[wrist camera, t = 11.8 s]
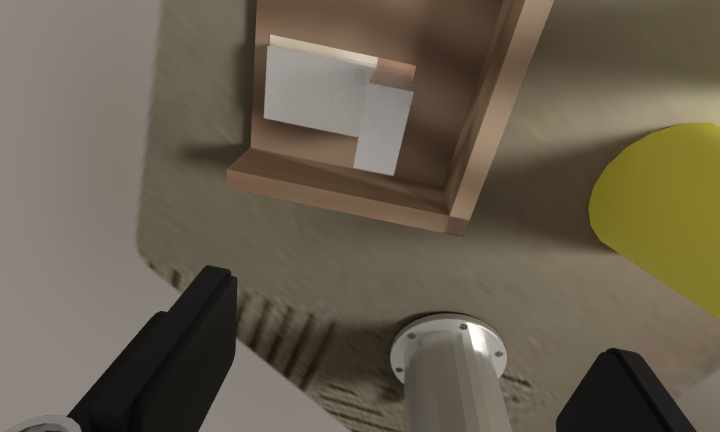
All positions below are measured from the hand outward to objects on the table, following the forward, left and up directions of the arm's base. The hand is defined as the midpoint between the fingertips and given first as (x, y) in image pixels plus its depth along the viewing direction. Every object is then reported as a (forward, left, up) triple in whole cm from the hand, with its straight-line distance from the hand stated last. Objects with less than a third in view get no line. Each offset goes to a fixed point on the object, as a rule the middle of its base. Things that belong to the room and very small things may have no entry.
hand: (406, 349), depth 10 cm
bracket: (+1, +5, -22) cm, 23 cm away
